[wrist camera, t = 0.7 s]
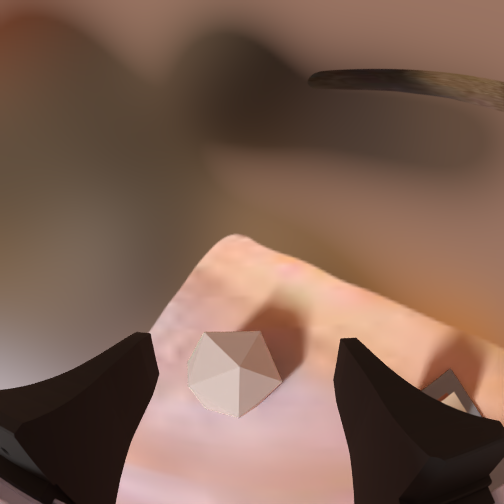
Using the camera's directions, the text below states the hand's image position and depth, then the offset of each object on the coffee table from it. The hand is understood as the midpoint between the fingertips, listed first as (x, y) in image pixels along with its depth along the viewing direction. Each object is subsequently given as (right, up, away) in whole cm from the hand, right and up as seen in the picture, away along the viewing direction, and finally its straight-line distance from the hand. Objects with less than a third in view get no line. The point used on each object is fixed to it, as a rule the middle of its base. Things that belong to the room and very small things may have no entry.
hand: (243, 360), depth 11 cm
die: (0, -9, +18) cm, 21 cm away
